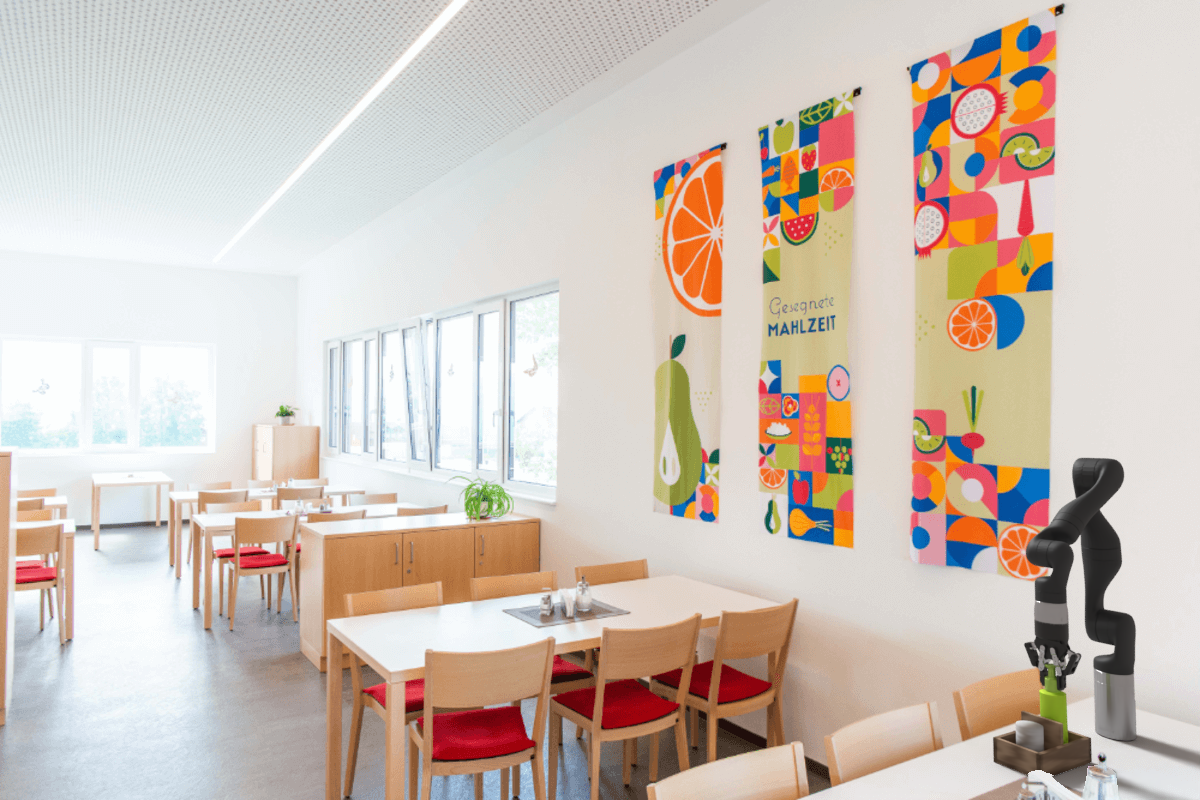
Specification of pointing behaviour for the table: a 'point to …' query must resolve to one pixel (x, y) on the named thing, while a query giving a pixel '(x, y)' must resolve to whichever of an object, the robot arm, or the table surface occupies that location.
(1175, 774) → the table surface
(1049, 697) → the soap dispenser
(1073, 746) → the caddy
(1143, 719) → the table surface
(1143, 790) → the table surface
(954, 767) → the table surface
